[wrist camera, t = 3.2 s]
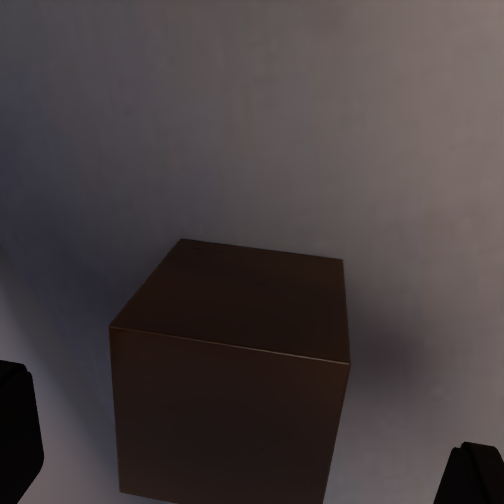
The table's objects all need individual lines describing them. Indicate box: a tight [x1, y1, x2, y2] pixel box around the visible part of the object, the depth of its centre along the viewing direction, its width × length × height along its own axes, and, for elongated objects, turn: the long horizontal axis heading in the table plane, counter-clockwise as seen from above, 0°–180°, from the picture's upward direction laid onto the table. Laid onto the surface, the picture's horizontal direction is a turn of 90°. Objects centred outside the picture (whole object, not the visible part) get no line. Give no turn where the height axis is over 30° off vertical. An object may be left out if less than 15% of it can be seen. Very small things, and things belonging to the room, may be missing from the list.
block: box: [109, 239, 351, 504], centre depth 12 cm, size 5×5×5 cm
